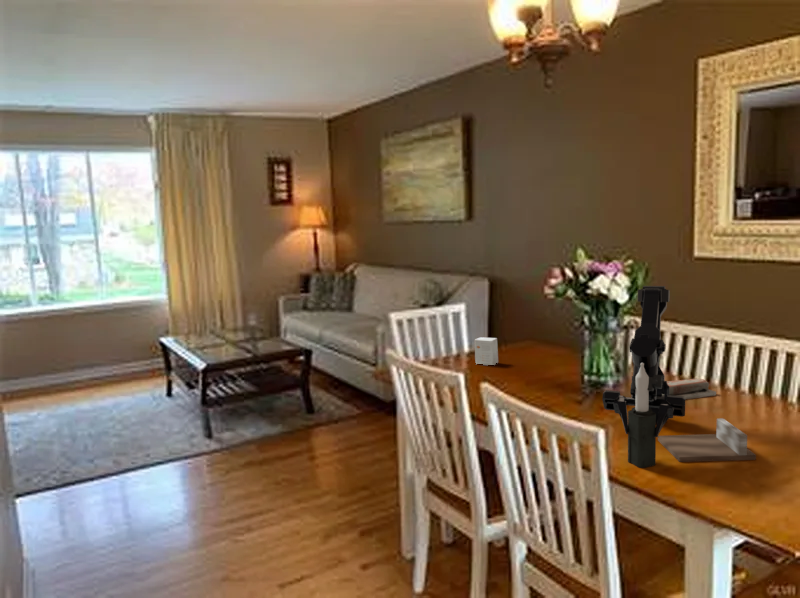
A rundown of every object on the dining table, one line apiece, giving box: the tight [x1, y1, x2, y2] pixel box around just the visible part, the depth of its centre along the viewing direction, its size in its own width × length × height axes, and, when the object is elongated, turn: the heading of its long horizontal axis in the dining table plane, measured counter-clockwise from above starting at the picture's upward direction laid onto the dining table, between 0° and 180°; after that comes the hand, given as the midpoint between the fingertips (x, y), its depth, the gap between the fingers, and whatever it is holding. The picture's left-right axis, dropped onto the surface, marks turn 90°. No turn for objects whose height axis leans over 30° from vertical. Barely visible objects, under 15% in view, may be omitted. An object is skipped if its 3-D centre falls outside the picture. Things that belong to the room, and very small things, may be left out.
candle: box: [627, 363, 657, 469], centre depth 144 cm, size 5×5×25 cm
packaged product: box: [662, 378, 717, 400], centre depth 196 cm, size 18×5×10 cm
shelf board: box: [657, 417, 757, 463], centre depth 152 cm, size 14×18×6 cm
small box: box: [474, 336, 499, 366], centre depth 247 cm, size 8×6×10 cm
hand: (641, 434), depth 144 cm, fingers closed on candle, 6 cm apart
